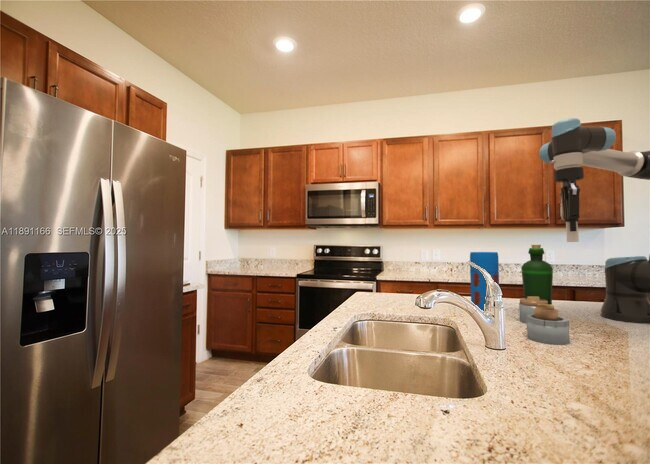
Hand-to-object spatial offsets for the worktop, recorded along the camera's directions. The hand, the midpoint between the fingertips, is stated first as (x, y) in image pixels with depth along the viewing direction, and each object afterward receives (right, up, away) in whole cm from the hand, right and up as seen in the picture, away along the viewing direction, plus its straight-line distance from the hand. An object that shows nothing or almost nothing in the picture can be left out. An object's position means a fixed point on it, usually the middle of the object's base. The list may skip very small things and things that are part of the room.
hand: (572, 241), depth 102 cm
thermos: (-12, -31, +33) cm, 46 cm away
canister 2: (-12, -29, -5) cm, 32 cm away
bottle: (+6, -30, +26) cm, 40 cm away
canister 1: (-3, -30, +15) cm, 34 cm away
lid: (-12, -24, -5) cm, 28 cm away
